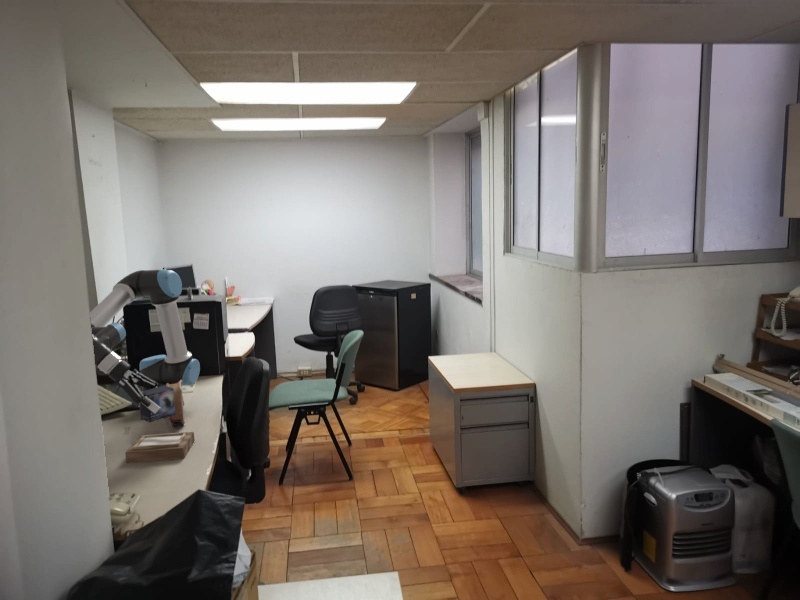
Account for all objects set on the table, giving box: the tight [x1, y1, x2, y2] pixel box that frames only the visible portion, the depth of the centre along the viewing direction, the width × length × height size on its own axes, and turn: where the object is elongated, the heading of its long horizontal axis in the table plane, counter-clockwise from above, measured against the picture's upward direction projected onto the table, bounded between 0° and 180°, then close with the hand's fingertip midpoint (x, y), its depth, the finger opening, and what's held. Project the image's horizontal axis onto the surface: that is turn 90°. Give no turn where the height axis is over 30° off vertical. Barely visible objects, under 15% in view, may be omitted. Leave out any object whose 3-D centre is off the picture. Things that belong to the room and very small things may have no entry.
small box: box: [139, 385, 176, 423], centre depth 220 cm, size 11×6×10 cm, turn 143°
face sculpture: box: [166, 380, 186, 428], centre depth 253 cm, size 20×7×17 cm, turn 21°
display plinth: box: [124, 431, 196, 464], centre depth 222 cm, size 16×20×5 cm
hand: (163, 405), depth 220 cm, fingers closed on small box, 11 cm apart
